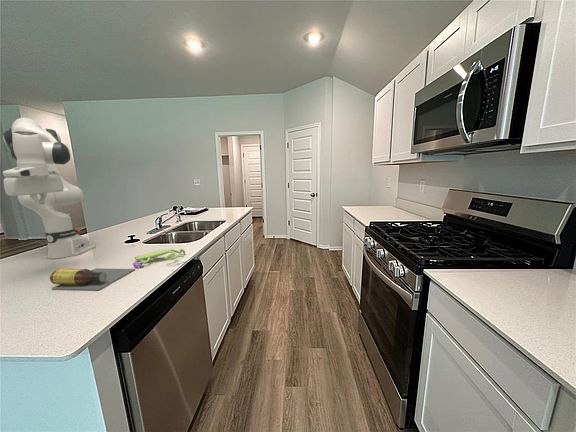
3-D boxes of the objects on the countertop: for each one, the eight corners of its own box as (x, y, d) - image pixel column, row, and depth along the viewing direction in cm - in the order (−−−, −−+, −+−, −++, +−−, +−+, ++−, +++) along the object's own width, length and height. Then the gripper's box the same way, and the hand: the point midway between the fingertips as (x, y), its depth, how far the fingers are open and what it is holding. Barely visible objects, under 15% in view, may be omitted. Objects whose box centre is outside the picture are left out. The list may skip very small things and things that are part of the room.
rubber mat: (95, 269, 115) (95, 268, 115) (135, 270, 113) (135, 268, 113) (52, 289, 95) (51, 288, 95) (98, 290, 94) (98, 289, 94)
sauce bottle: (65, 274, 103) (112, 275, 103) (55, 287, 98) (103, 288, 98) (56, 265, 99) (104, 266, 98) (44, 278, 94) (95, 279, 94)
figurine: (182, 266, 118) (181, 255, 117) (122, 271, 113) (120, 259, 112) (190, 254, 136) (189, 244, 135) (139, 257, 131) (138, 247, 130)
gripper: (52, 171, 112) (57, 200, 114) (-4, 172, 92) (5, 207, 94) (64, 171, 111) (70, 200, 114) (12, 172, 91) (20, 208, 94)
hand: (40, 204), depth 104 cm, fingers closed
